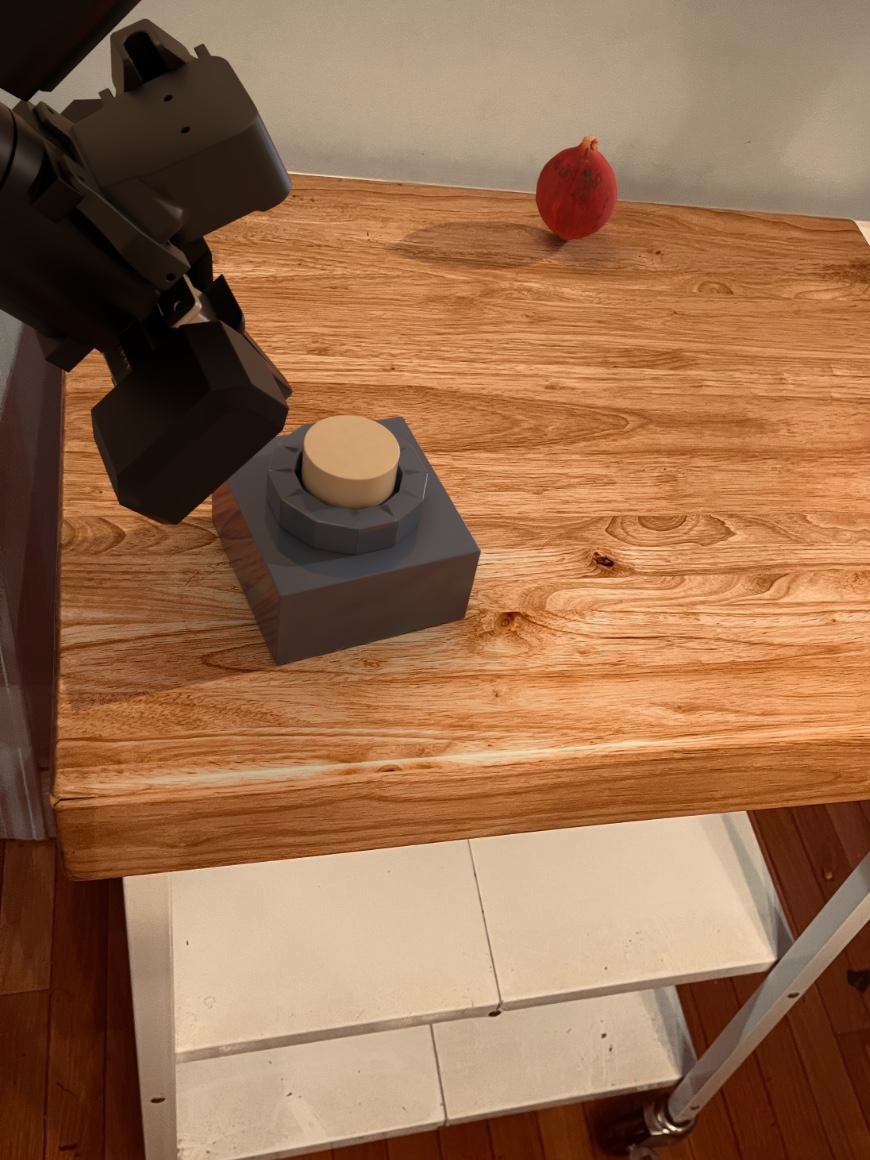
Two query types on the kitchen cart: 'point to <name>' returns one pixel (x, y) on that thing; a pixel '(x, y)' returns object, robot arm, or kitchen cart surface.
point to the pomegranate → (577, 191)
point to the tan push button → (349, 462)
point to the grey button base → (343, 552)
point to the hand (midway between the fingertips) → (282, 394)
